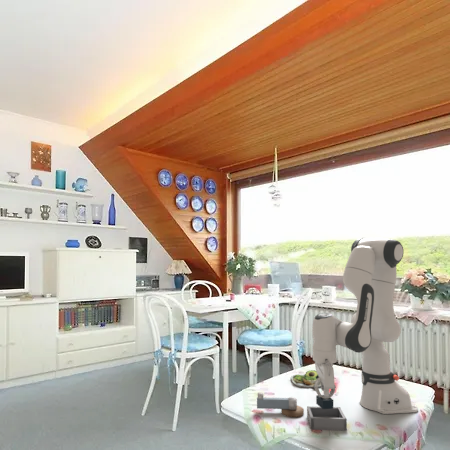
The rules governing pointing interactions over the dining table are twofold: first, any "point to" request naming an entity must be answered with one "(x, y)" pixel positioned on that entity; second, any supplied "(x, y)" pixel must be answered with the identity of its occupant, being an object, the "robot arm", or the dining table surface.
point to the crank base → (293, 412)
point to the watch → (324, 397)
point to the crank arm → (276, 403)
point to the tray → (326, 418)
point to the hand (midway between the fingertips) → (324, 392)
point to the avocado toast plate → (306, 379)
